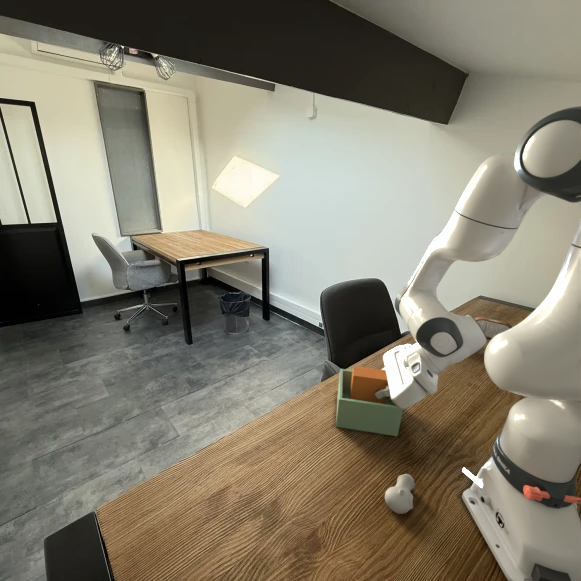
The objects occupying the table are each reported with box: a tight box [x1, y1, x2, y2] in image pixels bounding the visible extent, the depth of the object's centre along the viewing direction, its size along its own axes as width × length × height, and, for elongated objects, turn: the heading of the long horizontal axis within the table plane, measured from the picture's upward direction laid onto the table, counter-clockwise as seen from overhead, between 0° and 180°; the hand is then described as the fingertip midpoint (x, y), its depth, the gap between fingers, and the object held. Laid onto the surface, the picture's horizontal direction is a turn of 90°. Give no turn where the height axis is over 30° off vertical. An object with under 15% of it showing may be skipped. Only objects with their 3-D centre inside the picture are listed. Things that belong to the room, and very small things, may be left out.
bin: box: [335, 368, 404, 437], centre depth 83 cm, size 14×16×9 cm
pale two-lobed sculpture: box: [384, 473, 416, 515], centre depth 61 cm, size 4×8×5 cm
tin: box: [474, 316, 514, 340], centre depth 128 cm, size 15×3×8 cm, turn 58°
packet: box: [349, 365, 388, 404], centre depth 82 cm, size 4×9×12 cm, turn 80°
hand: (375, 388), depth 82 cm, fingers closed on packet, 4 cm apart
